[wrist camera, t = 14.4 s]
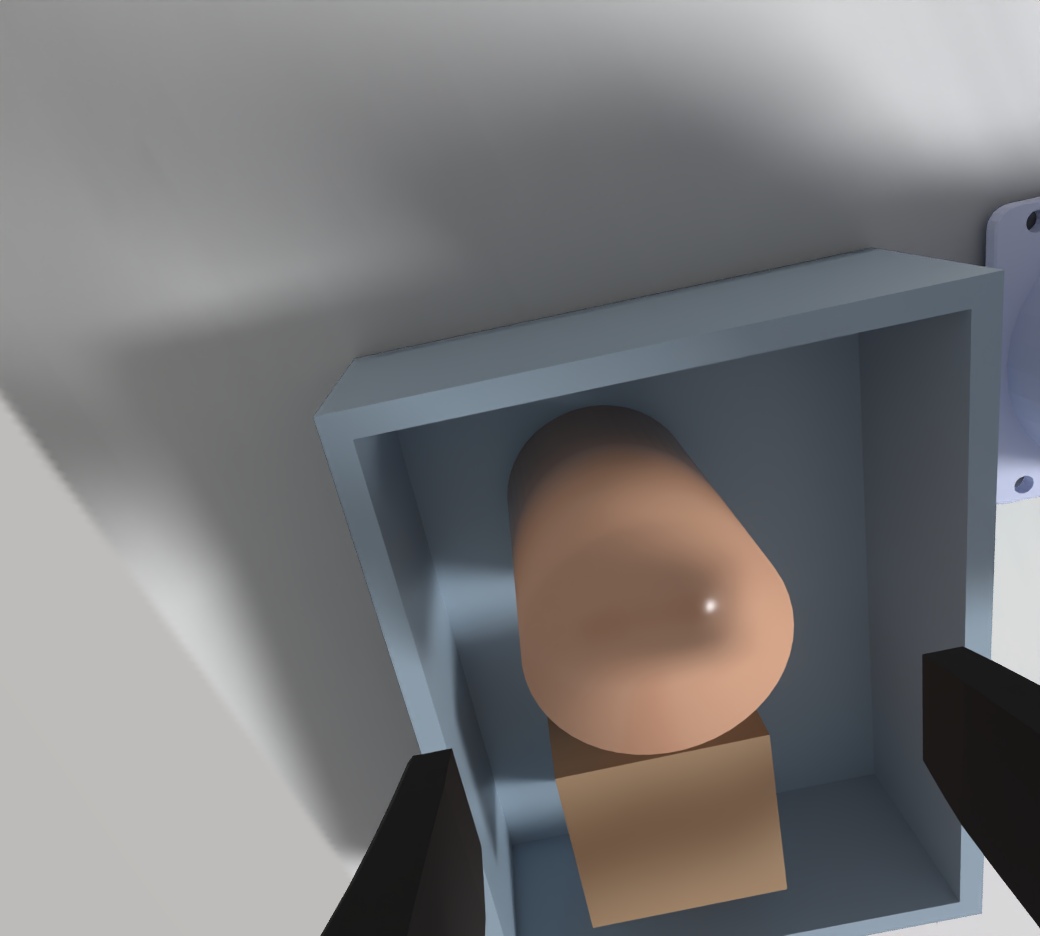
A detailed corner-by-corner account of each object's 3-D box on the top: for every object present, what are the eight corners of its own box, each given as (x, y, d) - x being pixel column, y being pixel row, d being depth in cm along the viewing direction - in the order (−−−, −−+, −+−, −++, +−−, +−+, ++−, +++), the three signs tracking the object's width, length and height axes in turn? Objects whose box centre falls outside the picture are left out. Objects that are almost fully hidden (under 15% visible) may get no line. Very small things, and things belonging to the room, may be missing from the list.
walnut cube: (726, 748, 23) (787, 889, 19) (570, 780, 24) (592, 928, 19) (706, 615, 22) (769, 734, 17) (538, 650, 22) (555, 778, 17)
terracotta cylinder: (672, 382, 19) (772, 487, 12) (706, 549, 21) (810, 717, 14) (484, 435, 19) (486, 564, 13) (534, 595, 21) (559, 781, 15)
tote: (871, 248, 18) (1004, 270, 14) (886, 775, 25) (981, 913, 20) (354, 358, 19) (313, 416, 14) (498, 851, 25) (502, 1004, 20)
